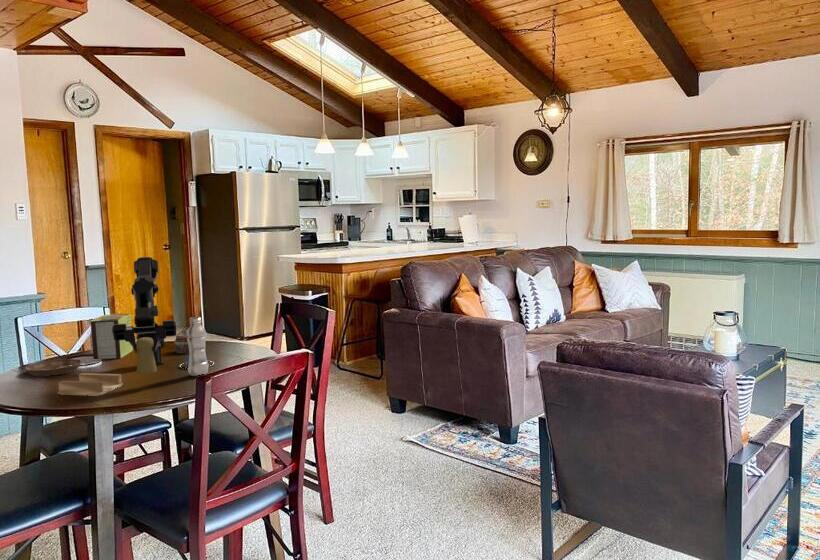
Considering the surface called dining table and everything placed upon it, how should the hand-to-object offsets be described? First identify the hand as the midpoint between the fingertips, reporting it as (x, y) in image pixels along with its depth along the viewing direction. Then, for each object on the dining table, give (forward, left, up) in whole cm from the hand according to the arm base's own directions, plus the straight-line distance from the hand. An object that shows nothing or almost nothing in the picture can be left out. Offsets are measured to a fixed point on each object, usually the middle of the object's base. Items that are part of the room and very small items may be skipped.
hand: (145, 352), depth 193 cm
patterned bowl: (-28, -13, -12) cm, 33 cm away
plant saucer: (+4, -51, -12) cm, 52 cm away
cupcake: (-41, -37, -12) cm, 56 cm away
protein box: (-22, -58, -12) cm, 63 cm away
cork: (-1, -1, -7) cm, 7 cm away
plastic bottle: (-19, 0, -12) cm, 22 cm away
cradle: (+10, -15, -12) cm, 21 cm away
